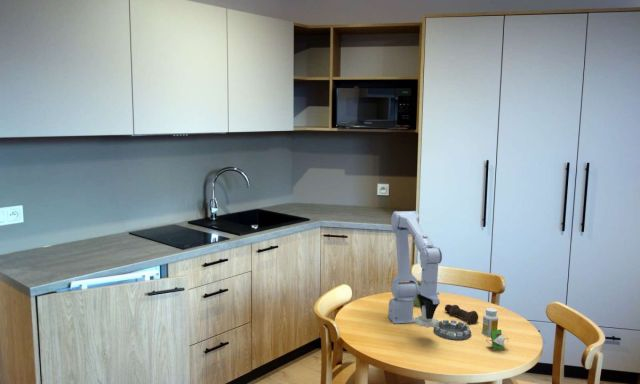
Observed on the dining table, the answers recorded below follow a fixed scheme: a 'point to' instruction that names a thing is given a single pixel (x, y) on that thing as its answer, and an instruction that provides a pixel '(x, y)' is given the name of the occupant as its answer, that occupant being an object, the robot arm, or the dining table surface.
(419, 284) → the plant pot
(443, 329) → the carrier
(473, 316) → the bolt
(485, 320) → the supplement bottle
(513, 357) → the dining table surface
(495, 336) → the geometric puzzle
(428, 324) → the planet gear
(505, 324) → the dining table surface
